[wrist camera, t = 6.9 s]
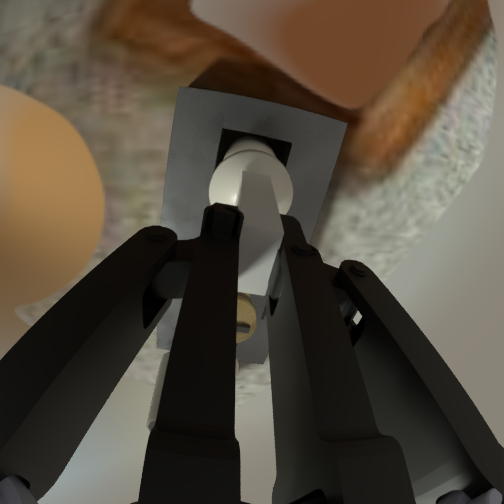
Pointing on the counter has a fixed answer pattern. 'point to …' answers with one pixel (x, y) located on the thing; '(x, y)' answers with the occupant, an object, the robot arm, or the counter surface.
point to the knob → (252, 160)
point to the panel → (205, 163)
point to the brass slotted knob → (245, 317)
